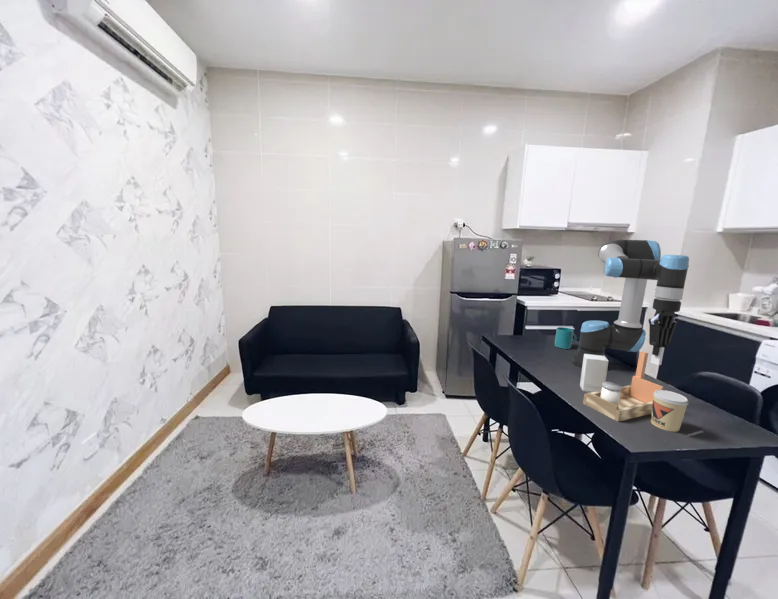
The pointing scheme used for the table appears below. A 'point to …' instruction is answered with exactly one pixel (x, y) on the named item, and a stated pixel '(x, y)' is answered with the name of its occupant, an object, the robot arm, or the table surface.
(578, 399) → the table surface
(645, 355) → the pusher
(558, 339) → the cup
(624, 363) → the table surface
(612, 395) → the jar
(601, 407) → the wooden tray
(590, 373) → the skincare box
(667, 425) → the coffee cup
